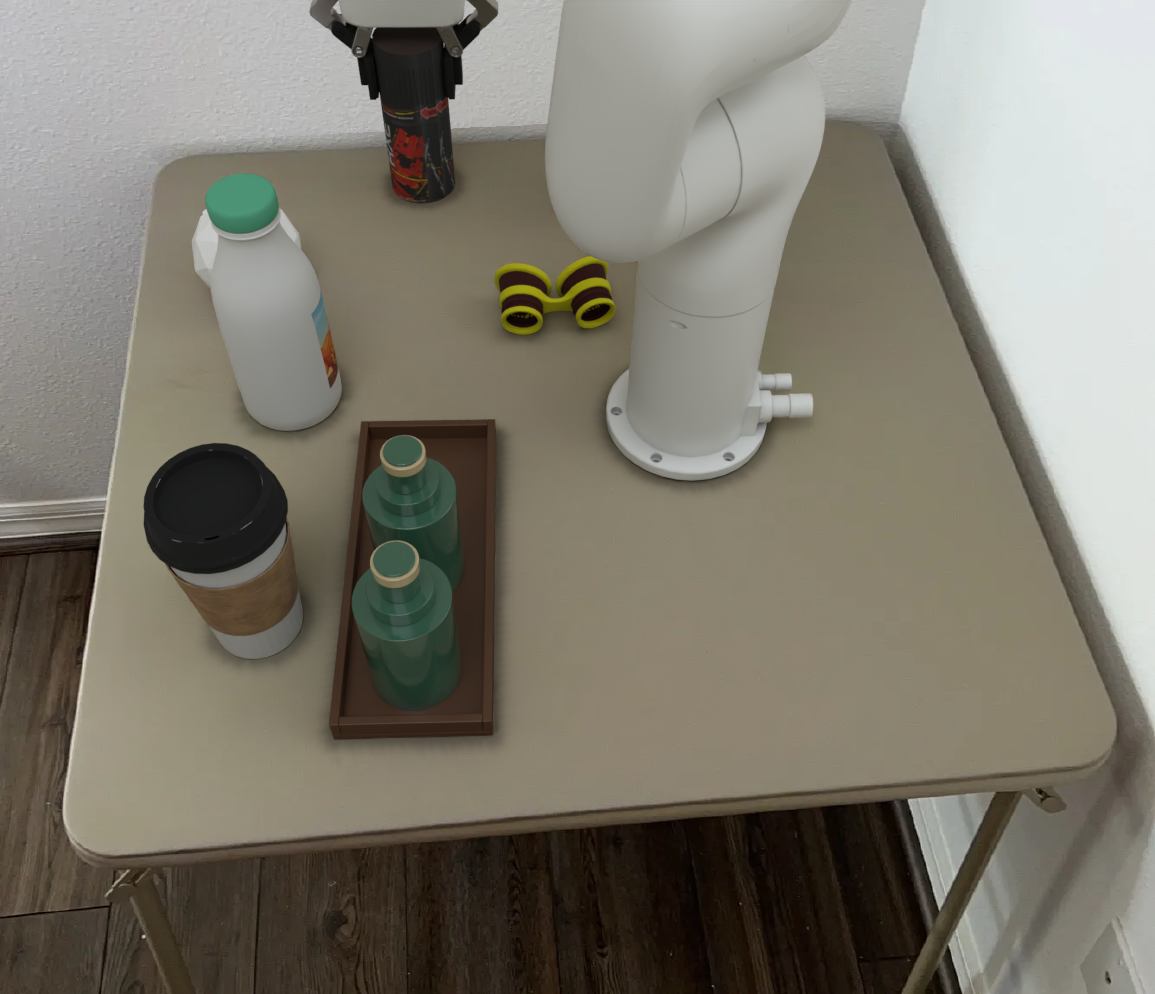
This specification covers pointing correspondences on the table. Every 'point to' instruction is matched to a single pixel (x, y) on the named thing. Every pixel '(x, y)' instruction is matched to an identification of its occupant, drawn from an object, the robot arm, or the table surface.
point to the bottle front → (407, 628)
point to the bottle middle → (415, 505)
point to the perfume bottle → (208, 243)
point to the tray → (471, 703)
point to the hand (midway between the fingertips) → (413, 89)
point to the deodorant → (415, 112)
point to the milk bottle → (270, 309)
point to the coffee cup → (228, 545)
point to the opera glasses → (575, 285)
